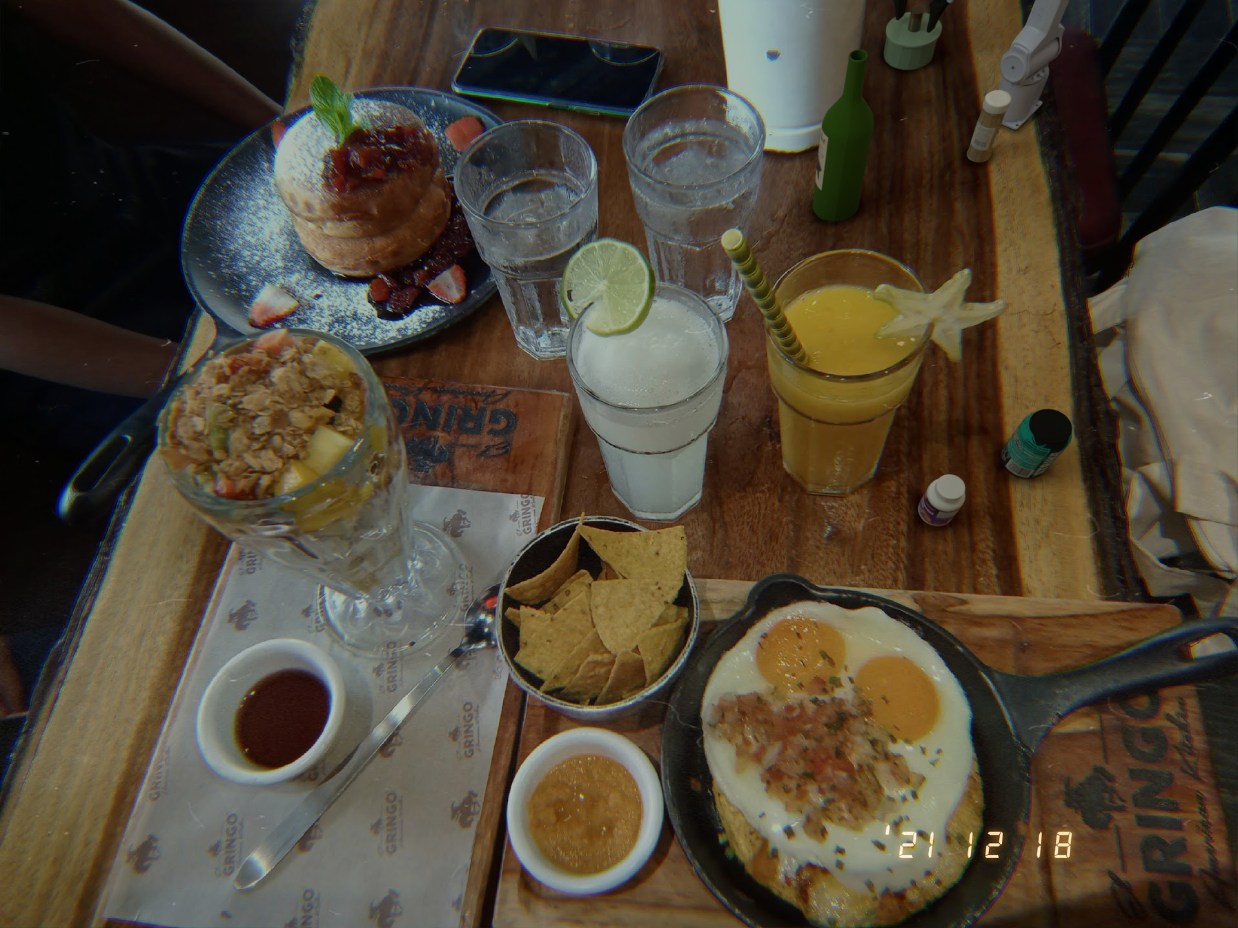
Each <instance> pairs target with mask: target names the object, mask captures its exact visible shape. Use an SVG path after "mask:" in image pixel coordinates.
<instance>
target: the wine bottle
mask: <svg viewBox="0 0 1238 928" xmlns="http://www.w3.org/2000/svg"><path fill="white" fill-rule="evenodd" d="M868 58H869V53H868V52H867V51H866V50H864V49H854V50H852V51H851V52H850V53H849V54H848V60H847V67H846V73H845V79H844V80H845V81H844V85H843V91H842V94H841V96H840V97H839V98H838V99H837V100H836V101H835V102H834V103H832V105H831V106H830V107H829V108H828V110H827V111H826V112H825V114H824V117H823V120H822V122H821V127H820V136H819V143H818V144H819V145H818V152H817V161H816V168H815V169H816V171H815V180H814V188H813V198H812V210H813V212H814V214H815V215H816V216H817V217H818V218H819V219H820V220H822V221H829V222H842V221H846V220H847V219H850V218H851V217H853V216H854V215H855V214H856V213H857V211H858V210H859V205H860V202H861V195H862V190H863V186H864V185H863V184H864V179H865V174H866V170H867V164H868V159H869V154H870V148H871V143H872V139H873V132H874V129H875V121H874V117H875V116H874V113H873V111H872V109H871V108H870V106H869V104H868V103H867V101H866V99H865V98H864V97H863V91H864V84H865V77H866V70H867V64H868Z"/></svg>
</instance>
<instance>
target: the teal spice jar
mask: <svg viewBox="0 0 1238 928" xmlns="http://www.w3.org/2000/svg"><path fill="white" fill-rule="evenodd" d="M1072 440H1073V424H1072V422H1071V420H1070V418H1069V417H1068V416H1067V415H1066V414H1064V413H1063V412H1061V411H1059V410H1057V409H1052V408H1043V409H1039V410H1037V411H1033V412H1030V413H1028V414H1027V415H1026V416H1025V417H1024V418H1023V419H1022V420H1021V422H1020V423H1019V424H1018V426H1017V428H1016V429H1015V431H1013V433H1012V434H1011V436H1010V437H1009V439H1008V440H1007V442H1006V443H1005V444H1004V446H1003V448H1002V449H1001V451H1000V462H1001V465H1002V466H1003V468H1004V469H1005V470H1006V471H1007V472H1008V473H1009V474H1011V476H1014V477H1016V478H1017V479H1018V478H1019V479H1022V480H1033V479H1037V478H1039V477H1041V476H1043V475H1044V474H1045V473H1046V472H1047V471H1048V470H1049V468H1050V467H1051V466H1052V465H1053V464H1054V462H1056V460H1057V459H1058V458H1059V457H1060V455H1062V453H1064V451H1065V450H1066V449H1067V448H1068V447H1069V445H1070V444H1071V442H1072Z"/></svg>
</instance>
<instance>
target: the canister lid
mask: <svg viewBox="0 0 1238 928" xmlns="http://www.w3.org/2000/svg"><path fill="white" fill-rule="evenodd" d="M929 15H930V13H929V12H925V8H924V7H923V6H919V5H918V6H913V7H912V8H911V9H910V11H907V12H905V14H904V16H903V17H902V18H901V19H900V20H896V16H894V17H893V18H891V19H890V21H888V23H886V28H885V36H886V38H888V39H889V40H890V41H891V42H892V43H894V44H896V45H898V46H901V47H905V48H919V47H924V46H927V45H929V44H931V43H933V42H935V41H936V40H937V41H938V39H939V38H940V37H941V35H942V31H943V25H942V23H941V21H940V19H939V20H938V22H937V24H936V26H935V28H934V29H933V30H932V31H931V32H930V33H928V32H927V25H928V21H929Z"/></svg>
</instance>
